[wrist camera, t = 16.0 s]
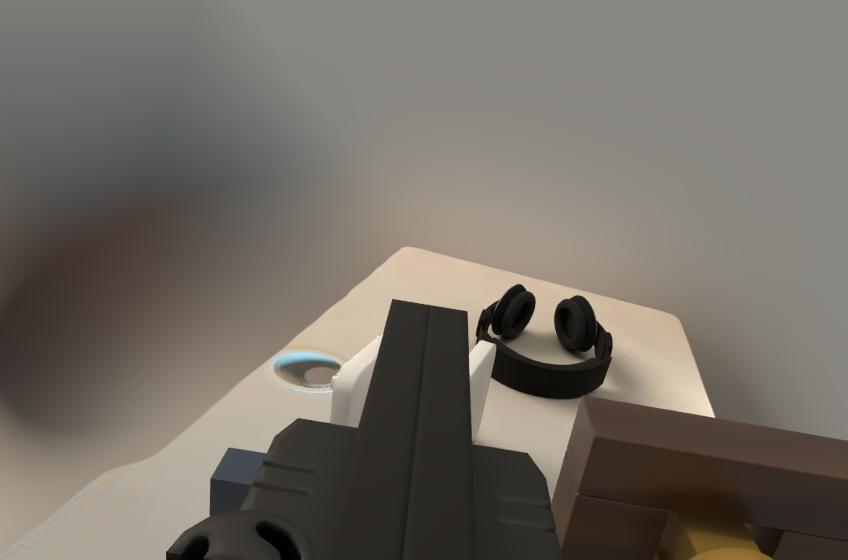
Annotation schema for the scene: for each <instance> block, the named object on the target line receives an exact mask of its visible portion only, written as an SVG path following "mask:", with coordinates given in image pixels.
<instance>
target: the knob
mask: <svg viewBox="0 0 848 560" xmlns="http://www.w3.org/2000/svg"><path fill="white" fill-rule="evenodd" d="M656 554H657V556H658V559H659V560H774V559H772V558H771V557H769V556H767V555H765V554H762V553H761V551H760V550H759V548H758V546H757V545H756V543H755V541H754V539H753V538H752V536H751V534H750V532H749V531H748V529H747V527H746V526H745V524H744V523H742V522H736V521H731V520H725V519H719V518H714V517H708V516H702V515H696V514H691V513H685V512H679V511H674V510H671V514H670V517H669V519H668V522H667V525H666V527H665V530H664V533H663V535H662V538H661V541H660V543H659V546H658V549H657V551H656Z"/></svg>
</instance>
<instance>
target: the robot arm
mask: <svg viewBox="0 0 848 560" xmlns="http://www.w3.org/2000/svg"><path fill="white" fill-rule="evenodd" d="M166 560H563V559H562V554H561V549H560V544H559V540H558V535H557V534H556V525H555V520H554V516H553V511H552V510H551V501H550V496H549V491H548V487H547V482H546V478H545V476H544V475H543V474H542V472H541V471H540V469H539V468H538V467H537V465H536V464H535V463H534V461H533V460H532V459H531V457H530V456H529V454H528V453H524V452H517V451H511V450H505V449H499V448H493V447H487V446H480V445H474V444H472V424H471V397H470V369H469V342H468V315H467V311H462V310H456V309H450V308H444V307H437V306H431V305H425V304H419V303H413V302H407V301H401V300H395V299H392V303H391V306H390V310H389V314H388V318H387V321H386V325H385V329H384V333H383V336H382V340H381V344H380V347H379V351H378V355H377V359H376V362H375V366H374V370H373V374H372V377H371V381H370V385H369V388H368V392H367V396H366V400H365V403H364V407H363V411H362V415H361V418H360V422H359V426H358V428H355V427H349V426H343V425H337V424H331V423H325V422H319V421H312V420H306V419H300V418H298V419H297V420H295V421H294V422H293V423H291V424H290V425H289V426H288V427H286V428H285V429H284V430H282V431H281V432H280V433H279V434H277V435H276V436H275V437H274V439H273V441H272V444H271V446H270V448H269V450H268V452H267V454H266V456H265V458H264V460H263V465H262V466H260V469H259V471H258V473H257V475H256V477H255V479H254V481H253V485H252V487H250V489H249V491H248V494H247V496H246V498H245V500H244V502H243V504H242V506H241V508H240V510H234V511H230V512H226V513H222V514H218V515H215V516H211V517H208V518H206V519H205V520H203V521H201V522H199V523H198V524H196V525H194V526H193V527H191V528H189V529H188V530H186V531H184V532H183V533H182V535H181V536H180V537H179V538H178V539H177V540H176V541H175V543H174V544H173V545H172V546H171V547H170V548H169V550H168V551H167V552H166Z"/></svg>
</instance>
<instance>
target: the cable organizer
mask: <svg viewBox="0 0 848 560" xmlns="http://www.w3.org/2000/svg"><path fill="white" fill-rule="evenodd" d="M383 333H384V332H383ZM383 333H382V334H381V333H379V336H378V337H377V338H375V339H374V340H373V341H372V342H371V343H370V344H369V345H368V346H366V347H365V348H364V349H363V350H362V351H360V352H359V353H358V354H357V355H355V356H354V357H353V358H352V359H351V360H350V361H348V362H347V363H346V364H343V365H342V366H341V368H340V372H338V373H337V374H336V376H333V378H332V381H331V389H332V390H333V394H332V403H331V413H330V422H329V423H331V424H337V425H343V426H349V427H355V428H358V426H359V422H360V418H361V415H362V411H363V407H364V403H365V400H366V396H367V392H368V388H369V385H370V381H371V377H372V374H373V370H374V366H375V362H376V359H377V355H378V351H379V347H380V344H381V340H382V336H383ZM495 355H496V345H495V344H493V343H490V342H486V341H483V340H481V341H479V342H478V344H477V345H476V346H475V347H474V349H473V350H472V351H471V353H470V354H469V369H470V397H471V424H472V443H473V441H474V439H475V437H476V435H477V432H478V430H479V427H480V423H481V419H482V415H483V410H484V406H485V401H486V396H487V392H488V387H489V382H490V378H491V373H492V369H493V364H494V359H495Z"/></svg>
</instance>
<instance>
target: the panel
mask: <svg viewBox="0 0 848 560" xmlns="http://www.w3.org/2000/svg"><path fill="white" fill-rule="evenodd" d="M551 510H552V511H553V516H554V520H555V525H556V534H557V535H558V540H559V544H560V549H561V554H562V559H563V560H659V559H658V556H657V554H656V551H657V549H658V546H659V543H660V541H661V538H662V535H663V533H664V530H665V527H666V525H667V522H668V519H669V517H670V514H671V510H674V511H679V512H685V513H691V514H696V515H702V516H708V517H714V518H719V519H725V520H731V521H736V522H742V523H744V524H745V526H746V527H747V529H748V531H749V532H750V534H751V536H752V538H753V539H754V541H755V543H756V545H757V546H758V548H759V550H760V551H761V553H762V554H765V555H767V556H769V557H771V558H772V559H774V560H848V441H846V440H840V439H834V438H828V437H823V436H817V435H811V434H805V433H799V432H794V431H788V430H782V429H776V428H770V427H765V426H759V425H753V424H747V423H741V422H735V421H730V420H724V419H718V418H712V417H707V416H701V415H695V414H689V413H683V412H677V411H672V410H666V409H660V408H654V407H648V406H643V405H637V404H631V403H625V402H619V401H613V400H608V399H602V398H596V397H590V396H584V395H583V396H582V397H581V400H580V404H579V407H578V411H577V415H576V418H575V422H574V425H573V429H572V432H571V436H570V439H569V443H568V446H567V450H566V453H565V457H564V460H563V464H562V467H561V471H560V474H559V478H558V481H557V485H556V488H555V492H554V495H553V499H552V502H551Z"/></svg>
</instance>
